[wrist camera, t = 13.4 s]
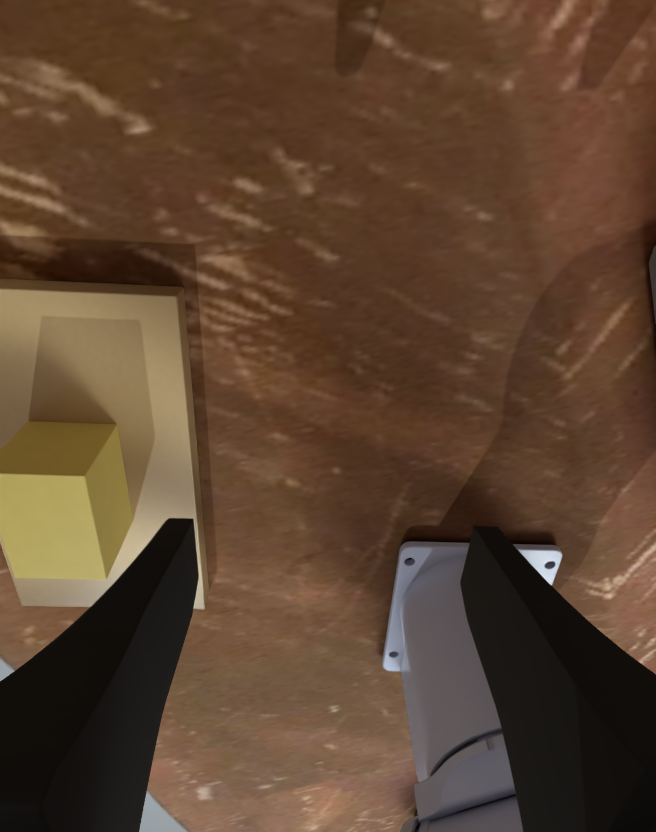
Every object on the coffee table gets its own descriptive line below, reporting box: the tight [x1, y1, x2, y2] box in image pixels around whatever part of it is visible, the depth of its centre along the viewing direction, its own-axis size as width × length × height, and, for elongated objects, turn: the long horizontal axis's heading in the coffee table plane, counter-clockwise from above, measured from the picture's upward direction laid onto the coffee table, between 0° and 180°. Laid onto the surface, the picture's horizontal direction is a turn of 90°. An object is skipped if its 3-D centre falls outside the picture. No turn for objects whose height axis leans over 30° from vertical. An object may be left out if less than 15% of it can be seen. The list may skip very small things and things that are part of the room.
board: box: [0, 279, 209, 609], centre depth 23 cm, size 16×9×1 cm, turn 177°
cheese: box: [0, 421, 133, 580], centre depth 21 cm, size 5×4×4 cm
